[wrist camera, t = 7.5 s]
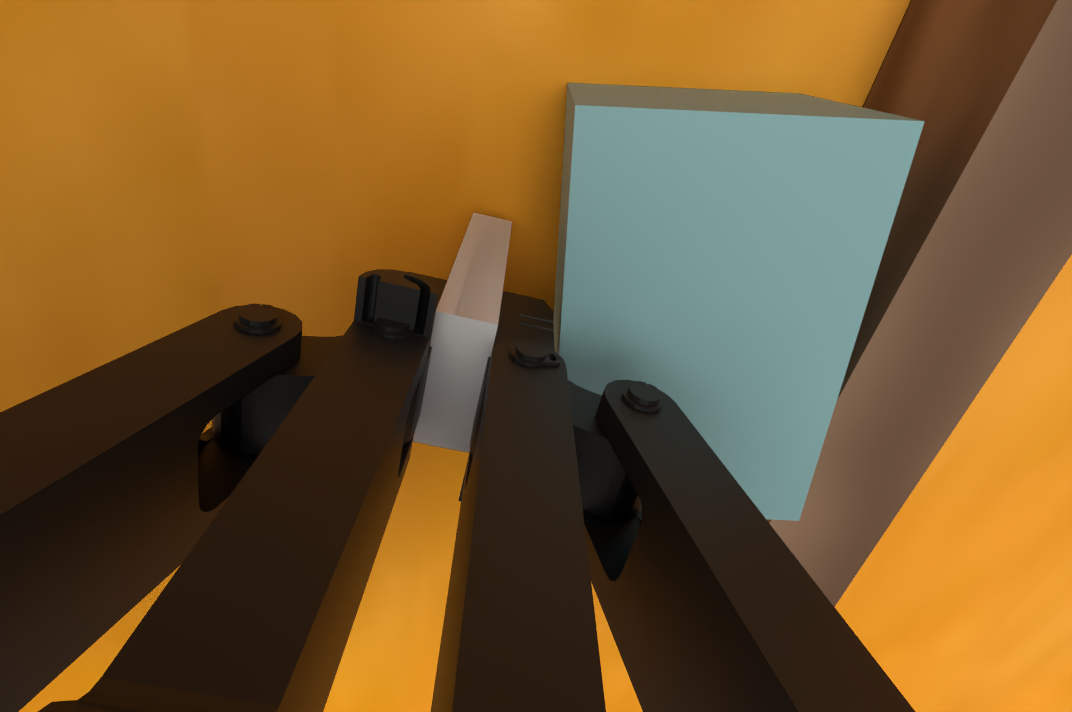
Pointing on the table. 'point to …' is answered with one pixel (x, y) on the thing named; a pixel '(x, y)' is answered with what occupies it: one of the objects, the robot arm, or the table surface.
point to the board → (946, 258)
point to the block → (726, 260)
